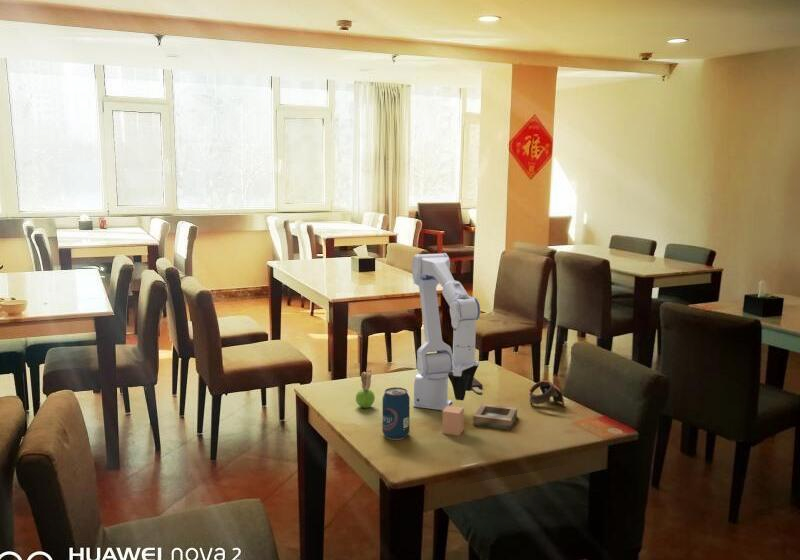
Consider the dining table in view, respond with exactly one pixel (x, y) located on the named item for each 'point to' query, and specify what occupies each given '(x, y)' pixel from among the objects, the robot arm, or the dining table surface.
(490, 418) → the walnut base
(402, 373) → the dining table surface
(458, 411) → the terracotta block
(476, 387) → the ice cream bar
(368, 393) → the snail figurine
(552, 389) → the dark looped band sculpture
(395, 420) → the soda can
